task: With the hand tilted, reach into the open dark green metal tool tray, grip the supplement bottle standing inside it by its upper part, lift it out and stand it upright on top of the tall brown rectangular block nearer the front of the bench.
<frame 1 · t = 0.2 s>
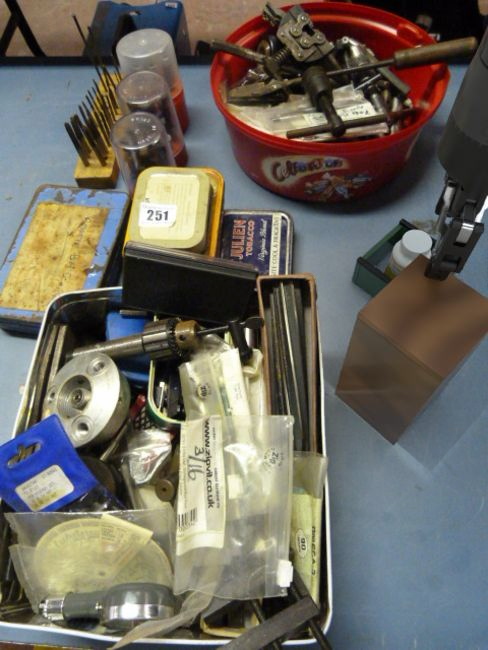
hand: (439, 243, 53), 22 cm above the table, tool pointing down, fingers open, 8 cm apart
tool tray: (401, 280, 77), on the table
supplement bottle: (400, 281, 77), resting in tool tray
brown rectangular block: (431, 311, 49), on the table
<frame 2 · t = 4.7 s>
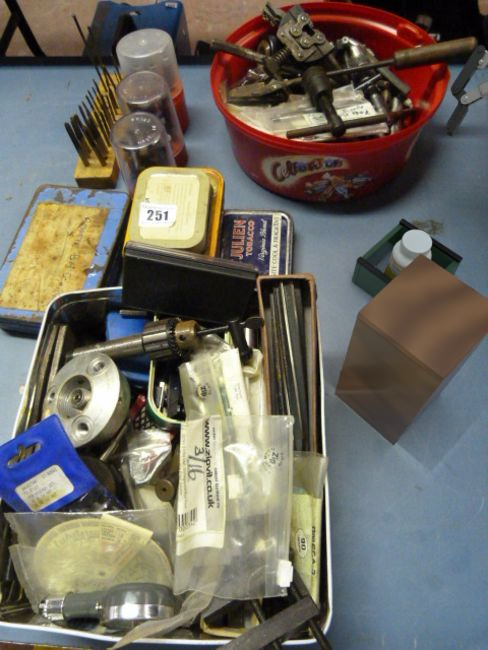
hand: (479, 149, 66), 17 cm above the table, tool tilted 45°, fingers open, 8 cm apart
nothing on the table moved.
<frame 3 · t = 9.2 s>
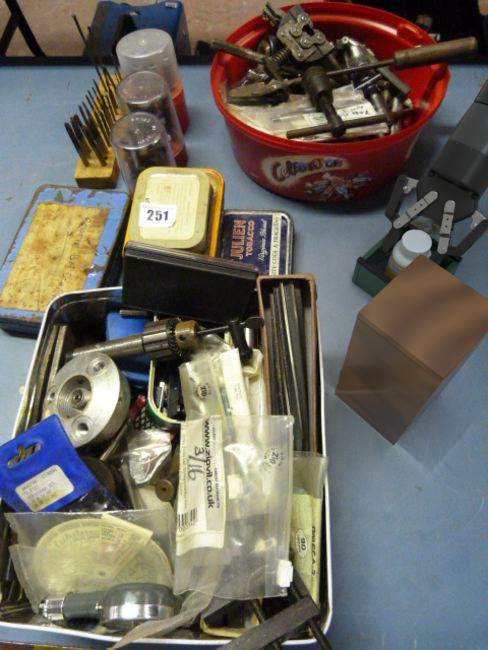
hand: (403, 264, 71), 6 cm above the table, tool tilted 45°, fingers closed on supplement bottle, 5 cm apart
supplement bottle: (400, 281, 77), resting in tool tray, touching gripper
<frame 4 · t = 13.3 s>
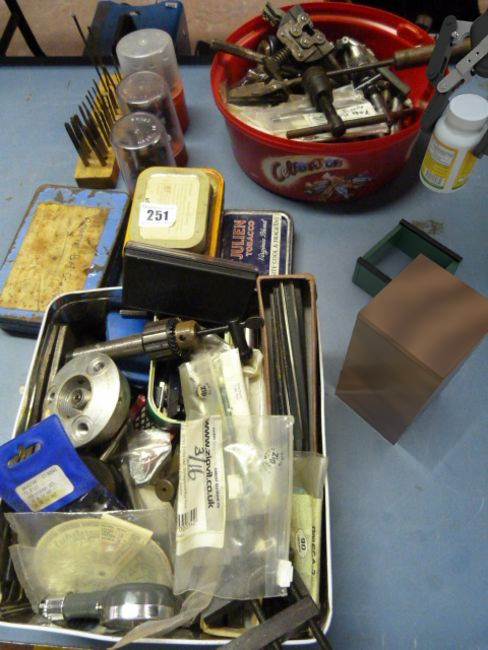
hand: (450, 143, 53), 27 cm above the table, tool tilted 45°, fingers closed on supplement bottle, 5 cm apart
supplement bottle: (442, 179, 59), point 21 cm above the table, touching gripper
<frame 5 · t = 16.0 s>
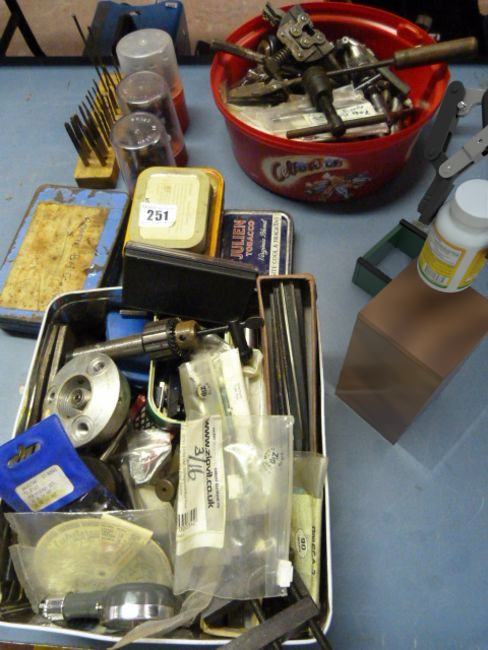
hand: (456, 240, 41), 32 cm above the table, tool tilted 45°, fingers closed on supplement bottle, 5 cm apart
supplement bottle: (445, 271, 47), point 25 cm above the table, touching gripper
when the fingers open (28 cm above the table, at t = 17.9 s): supplement bottle stays where it is, resting on brown rectangular block.
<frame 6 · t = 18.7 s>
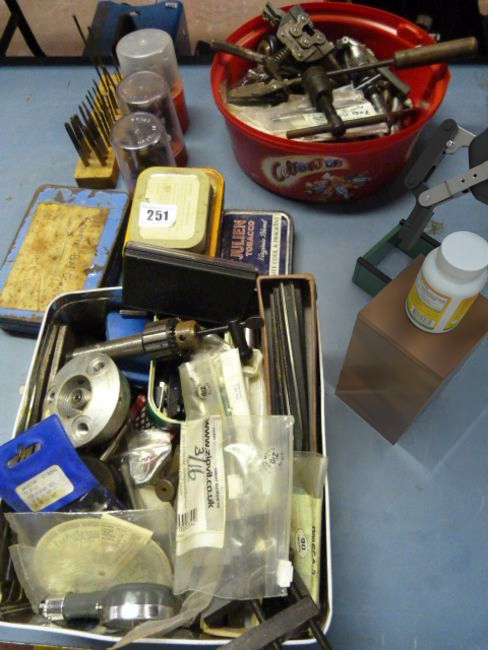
hand: (448, 275, 42), 30 cm above the table, tool tilted 45°, fingers open, 8 cm apart
supplement bottle: (432, 311, 49), point 22 cm above the table, touching brown rectangular block
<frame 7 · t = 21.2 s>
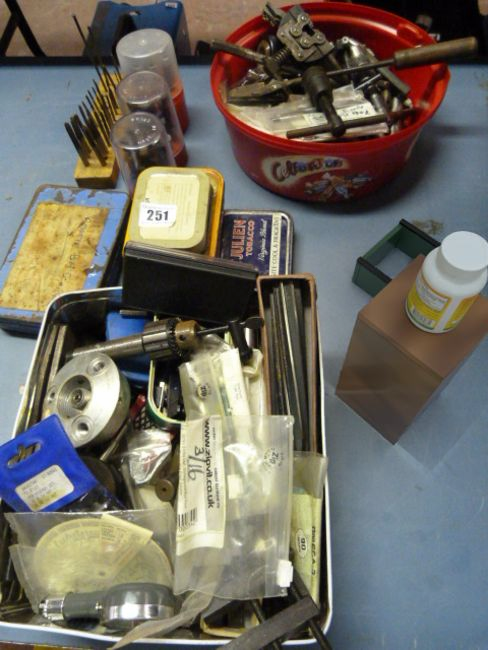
nothing on the table moved.
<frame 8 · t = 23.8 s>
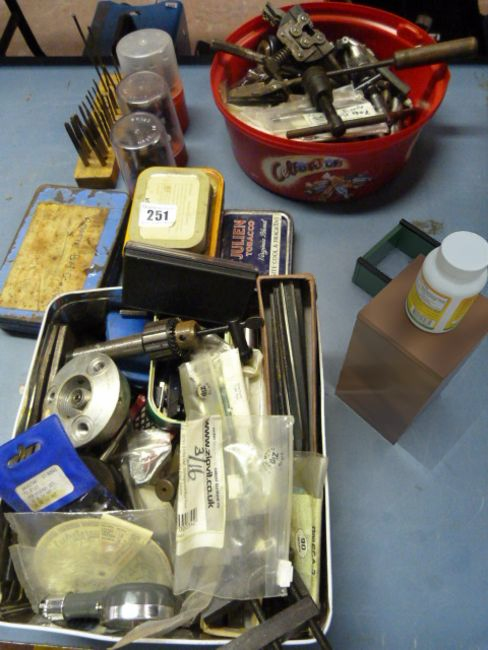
nothing on the table moved.
at the end: supplement bottle inside the target area on the brown rectangular block (0.1 cm from its centre), point 0.0 cm above the brown rectangular block's base; supplement bottle tilted 0°; the gripper is holding nothing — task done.
